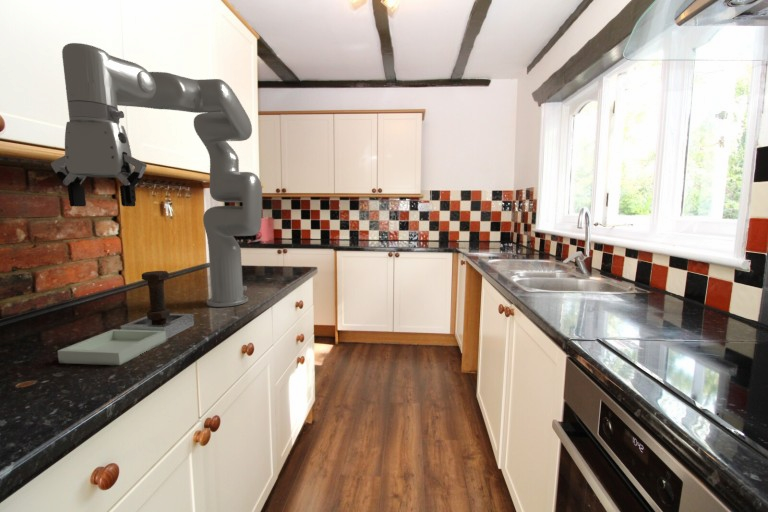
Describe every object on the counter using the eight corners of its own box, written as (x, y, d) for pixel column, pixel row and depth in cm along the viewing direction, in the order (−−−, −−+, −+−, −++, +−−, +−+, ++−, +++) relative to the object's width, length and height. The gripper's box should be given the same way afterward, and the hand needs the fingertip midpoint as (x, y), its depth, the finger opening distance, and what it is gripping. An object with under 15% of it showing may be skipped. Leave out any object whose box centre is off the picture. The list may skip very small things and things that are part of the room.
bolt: (158, 335, 86) (153, 274, 84) (141, 334, 87) (136, 274, 85) (177, 328, 92) (173, 270, 90) (160, 327, 93) (156, 270, 91)
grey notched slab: (155, 323, 95) (154, 313, 95) (194, 325, 94) (193, 314, 94) (121, 338, 84) (120, 326, 84) (165, 339, 83) (164, 327, 83)
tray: (114, 339, 83) (113, 329, 83) (166, 341, 82) (165, 330, 82) (58, 362, 70) (57, 350, 70) (119, 365, 69) (118, 352, 69)
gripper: (152, 122, 73) (159, 206, 75) (64, 121, 72) (73, 206, 74) (128, 112, 65) (136, 206, 67) (29, 110, 64) (41, 206, 67)
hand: (103, 206), depth 71 cm, fingers open, 9 cm apart
